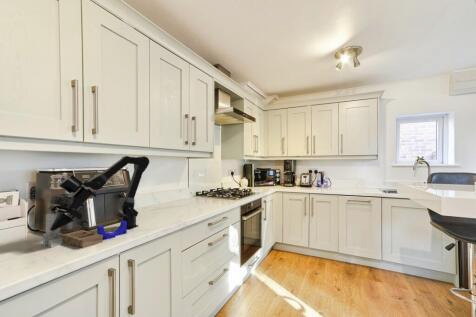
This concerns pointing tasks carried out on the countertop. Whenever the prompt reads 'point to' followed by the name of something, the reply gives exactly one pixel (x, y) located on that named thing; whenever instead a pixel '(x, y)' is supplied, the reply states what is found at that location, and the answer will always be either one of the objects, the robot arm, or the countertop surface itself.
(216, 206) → the countertop surface
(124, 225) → the cable clip
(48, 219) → the grey tower on plinth
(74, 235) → the rail
